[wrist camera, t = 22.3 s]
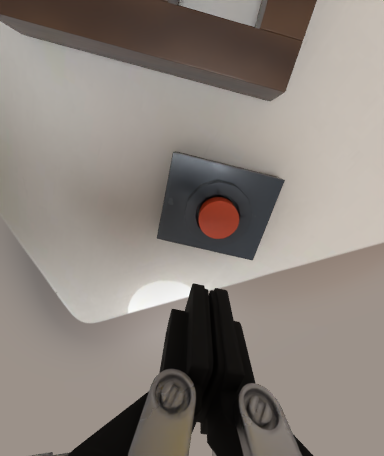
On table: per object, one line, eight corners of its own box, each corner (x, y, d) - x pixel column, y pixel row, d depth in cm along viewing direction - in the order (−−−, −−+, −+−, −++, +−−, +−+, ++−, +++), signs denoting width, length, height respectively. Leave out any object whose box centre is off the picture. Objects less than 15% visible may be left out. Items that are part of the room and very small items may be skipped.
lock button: (194, 227, 23) (194, 234, 21) (204, 192, 21) (204, 196, 20) (230, 236, 23) (232, 243, 21) (241, 201, 22) (244, 206, 20)
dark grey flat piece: (159, 231, 27) (153, 245, 23) (175, 151, 23) (170, 152, 20) (248, 251, 28) (256, 268, 24) (277, 177, 24) (291, 183, 20)
